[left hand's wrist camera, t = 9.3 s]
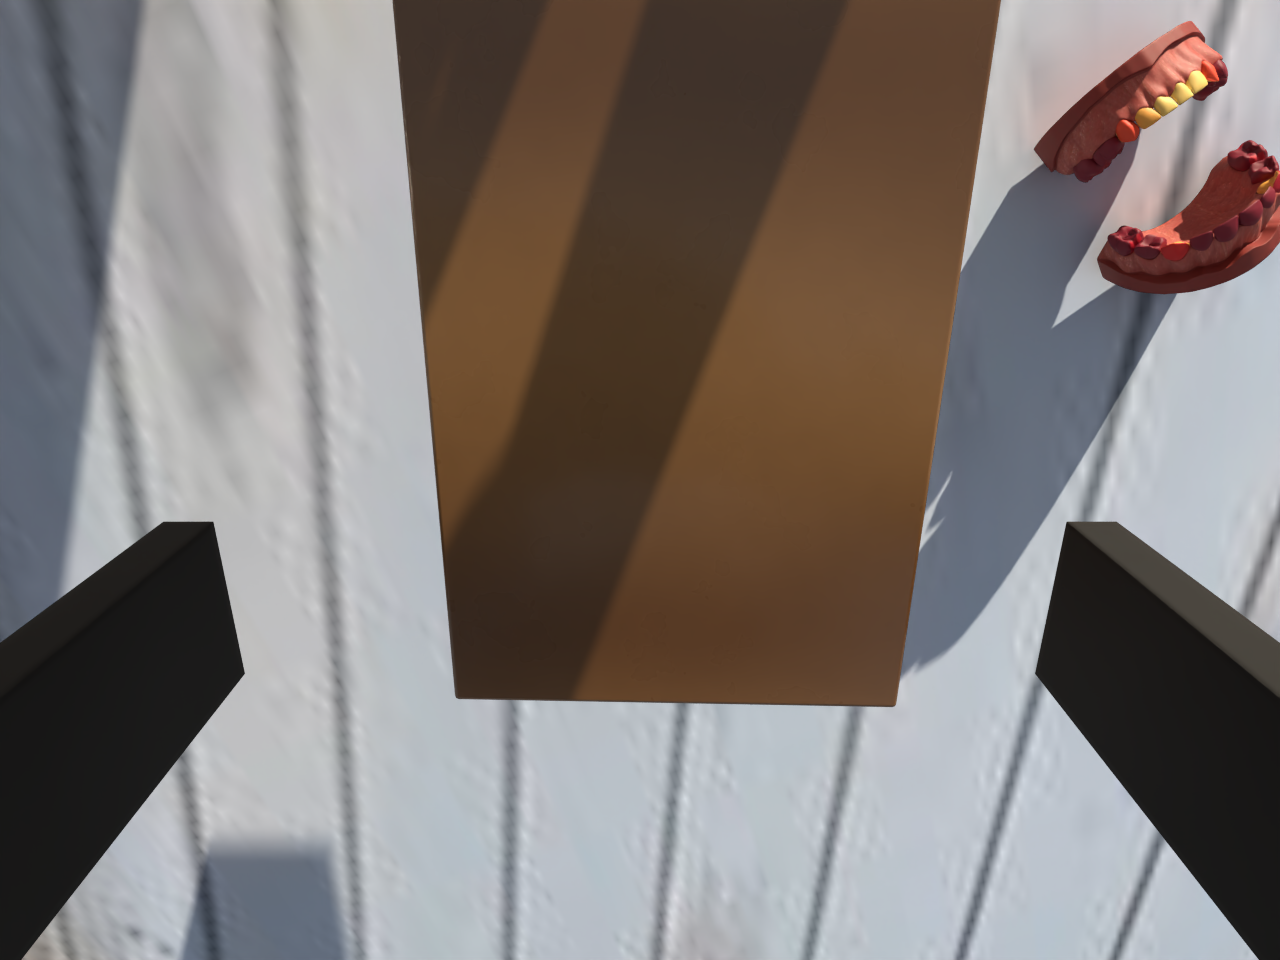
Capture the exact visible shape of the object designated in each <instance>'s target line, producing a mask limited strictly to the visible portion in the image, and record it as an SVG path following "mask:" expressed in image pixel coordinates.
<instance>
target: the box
mask: <svg viewBox="0 0 1280 960" xmlns="http://www.w3.org/2000/svg"><path fill="white" fill-rule="evenodd" d="M1000 3H1001V0H393V11H394V22H395V33H396V44H397V55H398V66H399V78H400V89H401V100H402V111H403V122H404V133H405V144H406V155H407V166H408V177H409V188H410V200H411V211H412V222H413V233H414V244H415V255H416V266H417V277H418V288H419V299H420V311H421V322H422V333H423V344H424V355H425V366H426V377H427V388H428V399H429V410H430V422H431V433H432V444H433V455H434V466H435V477H436V488H437V499H438V510H439V521H440V532H441V544H442V555H443V566H444V577H445V588H446V599H447V610H448V621H449V632H450V643H451V655H452V666H453V677H454V688H455V696H456V698H458V699H490V700H544V701H598V702H652V703H706V704H760V705H814V706H867V707H894V706H895V705H896V701H897V694H898V687H899V681H900V674H901V667H902V661H903V654H904V647H905V641H906V634H907V627H908V620H909V614H910V607H911V600H912V594H913V587H914V580H915V573H916V567H917V560H918V553H919V547H920V540H921V533H922V527H923V520H924V513H925V506H926V500H927V493H928V486H929V480H930V473H931V466H932V459H933V453H934V446H935V439H936V433H937V426H938V419H939V413H940V406H941V399H942V392H943V386H944V379H945V372H946V366H947V359H948V352H949V345H950V339H951V332H952V325H953V319H954V312H955V305H956V299H957V292H958V285H959V278H960V272H961V265H962V258H963V252H964V245H965V238H966V231H967V225H968V218H969V211H970V205H971V198H972V191H973V184H974V178H975V171H976V164H977V158H978V151H979V144H980V138H981V131H982V124H983V117H984V111H985V104H986V97H987V91H988V84H989V77H990V70H991V64H992V57H993V50H994V44H995V37H996V30H997V24H998V17H999V10H1000Z"/></svg>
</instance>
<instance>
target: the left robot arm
mask: <svg viewBox="0 0 1280 960" xmlns="http://www.w3.org/2000/svg"><path fill="white" fill-rule="evenodd" d="M244 674H245V672H244V667H243V663H242V658H241V653H240V648H239V643H238V639H237V634H236V629H235V624H234V619H233V614H232V610H231V605H230V600H229V595H228V590H227V585H226V581H225V576H224V571H223V566H222V561H221V557H220V552H219V547H218V542H217V537H216V532H215V528H214V523H213V522H163V523H161V524H160V525H159V526H157V527H156V528H154V529H153V530H152V531H150V532H149V533H148V534H146V535H145V536H144V537H142V538H141V539H140V540H138V541H137V542H136V543H134V544H133V545H132V546H130V547H129V548H128V549H126V550H125V551H123V552H122V553H121V554H119V555H118V556H117V557H115V558H114V559H113V560H111V561H110V562H109V563H107V564H106V565H105V566H103V567H102V568H101V569H99V570H98V571H97V572H95V573H94V574H92V575H91V576H90V577H88V578H87V579H86V580H84V581H83V582H82V583H80V584H79V585H78V586H76V587H75V588H74V589H72V590H71V591H70V592H68V593H67V594H66V595H64V596H63V597H61V598H60V599H59V600H57V601H56V602H55V603H53V604H52V605H51V606H49V607H48V608H47V609H45V610H44V611H43V612H41V613H40V614H39V615H37V616H36V617H35V618H33V619H32V620H30V621H29V622H28V623H26V624H25V625H24V626H22V627H21V628H20V629H18V630H17V631H16V632H14V633H13V634H12V635H10V636H9V637H8V638H6V639H5V640H4V641H2V642H1V643H0V960H21V959H22V958H23V957H24V955H25V954H26V953H27V952H28V950H29V949H30V948H31V946H32V945H33V944H34V943H35V941H36V940H37V939H38V937H39V936H40V935H41V934H42V932H43V931H44V930H45V929H46V927H47V926H48V925H49V923H50V922H51V921H52V920H53V918H54V917H55V916H56V914H57V913H58V912H59V911H60V909H61V908H62V907H63V905H64V904H65V903H66V902H67V900H68V899H69V898H70V897H71V895H72V894H73V893H74V891H75V890H76V889H77V888H78V886H79V885H80V884H81V882H82V881H83V880H84V879H85V877H86V876H87V875H88V874H89V872H90V871H91V870H92V868H93V867H94V866H95V865H96V863H97V862H98V861H99V859H100V858H101V857H102V856H103V854H104V853H105V852H106V851H107V849H108V848H109V847H110V845H111V844H112V843H113V842H114V840H115V839H116V838H117V836H118V835H119V834H120V833H121V831H122V830H123V829H124V827H125V826H126V825H127V824H128V822H129V821H130V820H131V819H132V817H133V816H134V815H135V813H136V812H137V811H138V810H139V808H140V807H141V806H142V804H143V803H144V802H145V801H146V799H147V798H148V797H149V796H150V794H151V793H152V792H153V790H154V789H155V788H156V787H157V785H158V784H159V783H160V781H161V780H162V779H163V778H164V776H165V775H166V774H167V772H168V771H169V770H170V769H171V767H172V766H173V765H174V764H175V762H176V761H177V760H178V758H179V757H180V756H181V755H182V753H183V752H184V751H185V749H186V748H187V747H188V746H189V744H190V743H191V742H192V741H193V739H194V738H195V737H196V735H197V734H198V733H199V732H200V730H201V729H202V728H203V726H204V725H205V724H206V723H207V721H208V720H209V719H210V717H211V716H212V715H213V714H214V712H215V711H216V710H217V709H218V707H219V706H220V705H221V703H222V702H223V701H224V700H225V698H226V697H227V696H228V694H229V693H230V692H231V691H232V689H233V688H234V687H235V686H236V684H237V683H238V682H239V680H240V679H241V678H242V677H243V675H244ZM1035 674H1036V675H1037V677H1038V678H1039V679H1040V680H1041V682H1042V683H1043V684H1044V686H1045V687H1046V688H1047V689H1048V691H1049V692H1050V693H1051V694H1052V696H1053V697H1054V698H1055V700H1056V701H1057V702H1058V703H1059V705H1060V706H1061V707H1062V709H1063V710H1064V711H1065V712H1066V714H1067V715H1068V716H1069V717H1070V719H1071V720H1072V721H1073V723H1074V724H1075V725H1076V726H1077V728H1078V729H1079V730H1080V732H1081V733H1082V734H1083V735H1084V737H1085V738H1086V739H1087V741H1088V742H1089V743H1090V744H1091V746H1092V747H1093V748H1094V749H1095V751H1096V752H1097V753H1098V755H1099V756H1100V757H1101V758H1102V760H1103V761H1104V762H1105V764H1106V765H1107V766H1108V767H1109V769H1110V770H1111V771H1112V772H1113V774H1114V775H1115V776H1116V778H1117V779H1118V780H1119V781H1120V783H1121V784H1122V785H1123V787H1124V788H1125V789H1126V790H1127V792H1128V793H1129V794H1130V796H1131V797H1132V798H1133V799H1134V801H1135V802H1136V803H1137V804H1138V806H1139V807H1140V808H1141V810H1142V811H1143V812H1144V813H1145V815H1146V816H1147V817H1148V819H1149V820H1150V821H1151V822H1152V824H1153V825H1154V826H1155V827H1156V829H1157V830H1158V831H1159V833H1160V834H1161V835H1162V836H1163V838H1164V839H1165V840H1166V842H1167V843H1168V844H1169V845H1170V847H1171V848H1172V849H1173V851H1174V852H1175V853H1176V854H1177V856H1178V857H1179V858H1180V859H1181V861H1182V862H1183V863H1184V865H1185V866H1186V867H1187V868H1188V870H1189V871H1190V872H1191V874H1192V875H1193V876H1194V877H1195V879H1196V880H1197V881H1198V882H1199V884H1200V885H1201V886H1202V888H1203V889H1204V890H1205V891H1206V893H1207V894H1208V895H1209V897H1210V898H1211V899H1212V900H1213V902H1214V903H1215V904H1216V906H1217V907H1218V908H1219V909H1220V911H1221V912H1222V913H1223V914H1224V916H1225V917H1226V918H1227V920H1228V921H1229V922H1230V923H1231V925H1232V926H1233V927H1234V929H1235V930H1236V931H1237V932H1238V934H1239V935H1240V936H1241V937H1242V939H1243V940H1244V941H1245V943H1246V944H1247V945H1248V946H1249V948H1250V949H1251V950H1252V952H1253V953H1254V954H1255V955H1256V957H1257V958H1258V959H1259V960H1280V643H1279V642H1278V641H1276V640H1275V639H1274V638H1272V637H1271V636H1270V635H1268V634H1267V633H1266V632H1264V631H1263V630H1262V629H1260V628H1259V627H1258V626H1256V625H1255V624H1254V623H1252V622H1251V621H1249V620H1248V619H1247V618H1245V617H1244V616H1243V615H1241V614H1240V613H1239V612H1237V611H1236V610H1235V609H1233V608H1232V607H1231V606H1229V605H1228V604H1227V603H1225V602H1224V601H1223V600H1221V599H1220V598H1219V597H1217V596H1216V595H1214V594H1213V593H1212V592H1210V591H1209V590H1208V589H1206V588H1205V587H1204V586H1202V585H1201V584H1200V583H1198V582H1197V581H1196V580H1194V579H1193V578H1192V577H1190V576H1189V575H1188V574H1186V573H1185V572H1183V571H1182V570H1181V569H1179V568H1178V567H1177V566H1175V565H1174V564H1173V563H1171V562H1170V561H1169V560H1167V559H1166V558H1165V557H1163V556H1162V555H1161V554H1159V553H1158V552H1157V551H1155V550H1154V549H1152V548H1151V547H1150V546H1148V545H1147V544H1146V543H1144V542H1143V541H1142V540H1140V539H1139V538H1138V537H1136V536H1135V535H1134V534H1132V533H1131V532H1130V531H1128V530H1127V529H1126V528H1124V527H1123V526H1121V525H1120V524H1119V523H1117V522H1067V523H1066V528H1065V532H1064V537H1063V542H1062V547H1061V552H1060V557H1059V561H1058V566H1057V571H1056V576H1055V581H1054V585H1053V590H1052V595H1051V600H1050V605H1049V610H1048V614H1047V619H1046V624H1045V629H1044V634H1043V639H1042V643H1041V648H1040V653H1039V658H1038V663H1037V667H1036V672H1035Z"/></svg>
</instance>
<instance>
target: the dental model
mask: <svg viewBox="0 0 1280 960" xmlns="http://www.w3.org/2000/svg"><path fill="white" fill-rule="evenodd" d="M1222 59H1223V58H1222V56H1221V55H1220V54H1219V53H1217V52H1216V51H1214V50H1213V49H1212V48H1210V47H1209V46H1207V45H1206V44H1205V37H1204V36H1203V34H1202V33H1201V32H1200V31H1199V29H1198V28H1197V27H1196V26H1195V25H1194V23H1193V22H1192V21H1188V22H1185V23H1183V24H1181V25H1179V26H1177V27H1175V28H1174V29H1172V30H1171V31H1169V32H1168V33H1166V34H1164V35H1163V36H1161V37H1159V38H1158V39H1157V40H1155V41H1154V42H1152V43H1151V44H1149V45H1148V46H1146V47H1145V48H1143V49H1142V50H1141V51H1139V52H1138V53H1137V54H1135V55H1134V56H1133V57H1131V58H1130V59H1129V60H1128V61H1126V62H1125V63H1124V64H1122V65H1121V66H1120V67H1119V68H1117V69H1116V70H1115V71H1114V72H1112V73H1111V74H1110V75H1109V76H1108V77H1106V78H1105V79H1104V80H1103V81H1101V82H1100V83H1099V84H1098V85H1096V86H1095V87H1094V88H1093V89H1092V90H1090V91H1089V92H1088V93H1087V94H1086V95H1085V96H1084V97H1082V98H1081V99H1080V100H1079V101H1078V102H1077V103H1076V104H1075V105H1074V106H1072V107H1071V108H1070V109H1069V110H1068V111H1067V112H1066V113H1065V114H1064V115H1063V116H1062V117H1061V118H1060V119H1059V120H1058V121H1057V122H1056V123H1055V124H1054V125H1053V126H1052V127H1051V128H1050V129H1049V130H1048V131H1047V133H1046V134H1045V135H1044V136H1043V137H1042V138H1041V140H1040V141H1039V142H1038V144H1037V145H1036V147H1035V148H1034V150H1035V152H1036V153H1037V154H1038V156H1039V157H1040V158H1041V160H1042V161H1043V162H1044V163H1045V165H1046V166H1047V167H1048V169H1049V170H1050V171H1051V172H1053V171H1054V170H1056V171H1057V172H1058V173H1061V174H1064V175H1069V174H1073V173H1075V176H1076V177H1077V179H1078V180H1080V181H1082V182H1085V183H1086V182H1088V181H1089V180H1091V179H1092V178H1093V177H1094V176H1096V175H1098V174H1100V173H1102V172H1103V170H1104V169H1106V168H1107V167H1109V165H1110V164H1111V161H1112V159H1114V158H1115V157H1116V156H1117V154H1120V153H1121V152H1122V150H1123V147H1124V142H1131V141H1135V140H1136V139H1137V137H1138V135H1139V127H1140V128H1142V129H1146V128H1148V127H1149V126H1151V125H1153V124H1154V123H1155V122H1157V121H1158V120H1159V119H1160V118H1161V116H1165V115H1167V114H1168V113H1170V112H1171V111H1173V110H1174V109H1175V108H1177V107H1178V105H1181V104H1182V103H1184V102H1185V101H1187V100H1188V99H1189V98H1191V97H1193V98H1194V99H1196V100H1199V101H1203V100H1205V99H1206V97H1207V96H1209V95H1210V94H1212V93H1213V92H1215V91H1216V90H1218V89H1219V87H1221V86H1224V85H1225V84H1226V82H1227V77H1228V71H1227V68H1226V65H1225V64H1224V62H1223V61H1222ZM1170 97H1171V98H1173V99H1174V100H1175V101H1176V102H1177V104H1178V105H1177V104H1176V103H1175V101H1173V100H1172V99H1171V98H1170ZM1153 107H1154V109H1155V110H1154V109H1153ZM1160 115H1161V116H1160ZM1134 121H1136V123H1137V124H1135V123H1134ZM1138 126H1139V127H1138ZM1279 242H1280V171H1279V165H1278V163H1277V161H1276V159H1275V157H1274V156H1269V157H1268V154H1267V151H1266V149H1264V147H1263V146H1262V145H1258V144H1257V143H1255V142H1254V141H1252V140H1248V141H1246V142H1244V143H1243V144H1241V146H1240V147H1239V148H1238V149H1237V150H1234V151H1231V152H1229V153H1228V156H1226V157H1225V158H1223V159H1222V160H1221V161H1220V162H1219V163H1218V164H1217V165H1216V166H1215V167H1214V168H1213V169H1212V170H1211V172H1210V175H1209V177H1208V179H1207V181H1206V183H1205V185H1204V186H1203V188H1202V189H1201V191H1200V192H1199V193H1198V195H1197V196H1196V197H1195V199H1194V200H1193V201H1192V202H1191V203H1190V204H1189V205H1188V206H1187V207H1186V208H1185V209H1184V210H1183V211H1181V212H1180V213H1179V214H1178V215H1176V216H1175V217H1173V218H1172V219H1170V220H1169V221H1167V222H1166V223H1164V224H1162V225H1160V226H1158V227H1156V228H1154V229H1151V230H1147V231H1143V232H1142V231H1140V230H1139V229H1137V228H1132V227H1129V226H1121V227H1120V228H1119V229H1118V231H1117V232H1115V233H1113V234H1110V235H1109V236H1108V241H1107V242H1106V244H1105V246H1104V247H1103V249H1102V251H1101V252H1100V254H1099V256H1098V258H1097V261H1098V264H1099V267H1100V270H1101V273H1102V276H1103V278H1105V279H1106V280H1108V281H1110V282H1112V283H1114V284H1116V285H1118V286H1121V287H1123V288H1126V289H1130V290H1134V291H1138V292H1144V293H1154V294H1172V293H1185V292H1193V291H1197V290H1201V289H1205V288H1209V287H1212V286H1215V285H1218V284H1221V283H1224V282H1227V281H1229V280H1232V279H1234V278H1236V277H1238V276H1240V275H1242V274H1244V273H1246V272H1247V271H1249V270H1251V269H1252V268H1254V267H1255V266H1256V265H1258V264H1259V263H1260V262H1262V261H1263V260H1264V259H1265V258H1266V257H1268V256H1269V255H1270V254H1271V253H1272V251H1273V250H1274V249H1275V247H1276V246H1277V245H1278V244H1279Z"/></svg>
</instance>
